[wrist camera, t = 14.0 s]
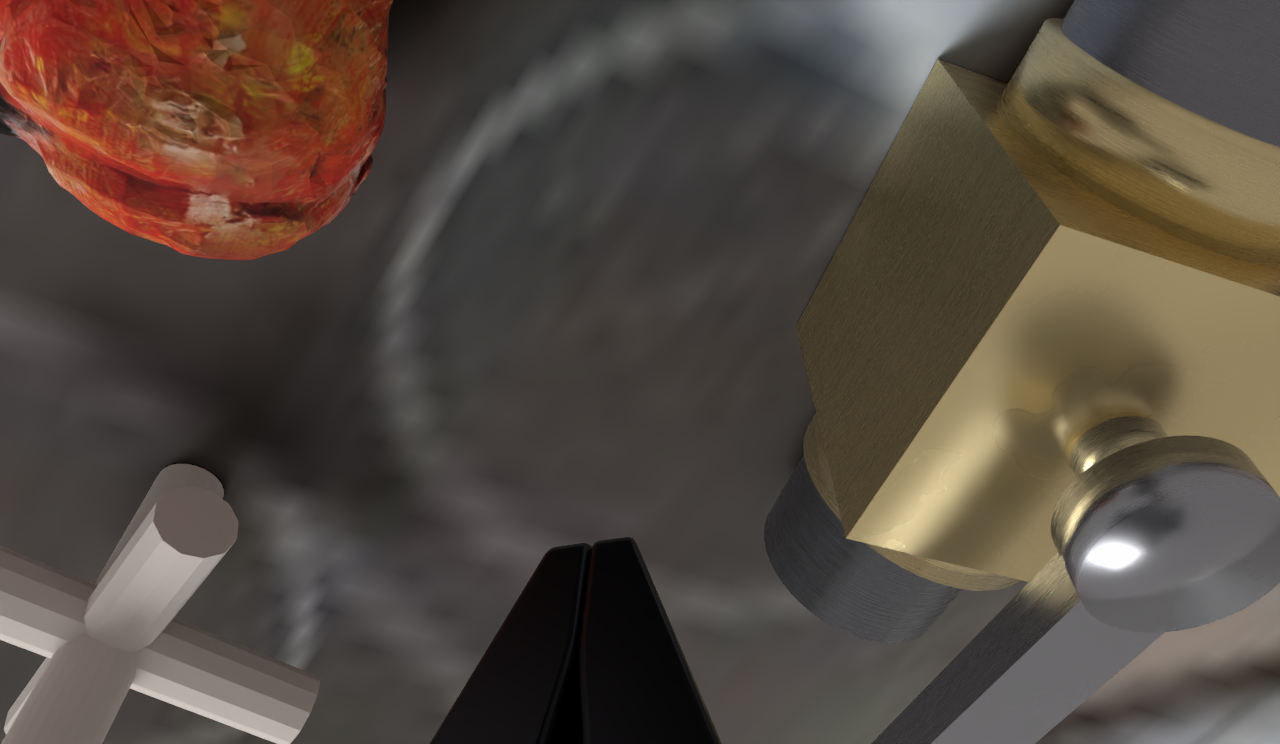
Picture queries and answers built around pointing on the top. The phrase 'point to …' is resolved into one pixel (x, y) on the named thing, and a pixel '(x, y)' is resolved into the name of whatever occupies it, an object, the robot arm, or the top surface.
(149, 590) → the pipe connector
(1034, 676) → the lever
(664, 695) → the robot arm
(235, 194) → the pomegranate
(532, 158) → the top surface
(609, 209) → the top surface
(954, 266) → the valve
